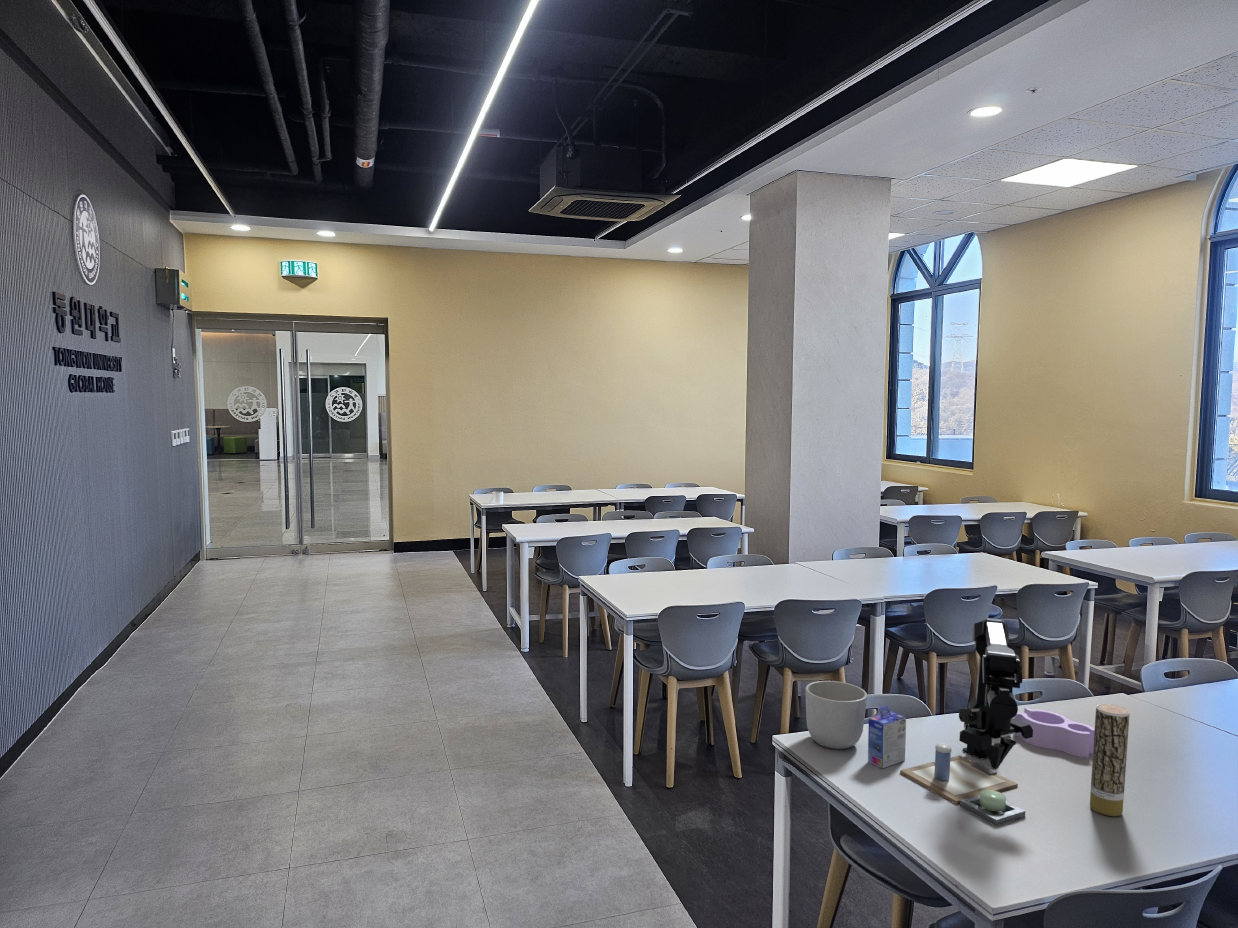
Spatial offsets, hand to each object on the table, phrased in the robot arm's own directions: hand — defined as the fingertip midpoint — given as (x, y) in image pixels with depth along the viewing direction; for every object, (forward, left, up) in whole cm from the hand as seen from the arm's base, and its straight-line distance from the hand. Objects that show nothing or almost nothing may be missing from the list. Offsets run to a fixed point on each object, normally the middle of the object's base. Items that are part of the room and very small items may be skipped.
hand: (994, 768), depth 189 cm
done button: (0, 0, -9) cm, 9 cm away
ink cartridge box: (+3, -31, -11) cm, 33 cm away
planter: (+8, -46, -11) cm, 48 cm away
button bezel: (0, 0, -11) cm, 11 cm away
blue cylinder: (-1, -16, -10) cm, 19 cm away
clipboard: (-6, -15, -11) cm, 19 cm away
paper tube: (-26, +11, -11) cm, 30 cm away
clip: (-51, -20, -11) cm, 56 cm away
